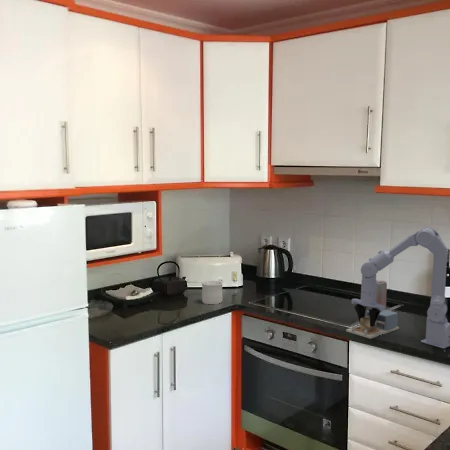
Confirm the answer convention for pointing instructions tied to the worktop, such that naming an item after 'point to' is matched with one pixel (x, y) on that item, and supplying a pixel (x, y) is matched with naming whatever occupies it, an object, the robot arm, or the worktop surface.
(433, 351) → the worktop surface
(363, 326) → the birch block
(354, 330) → the base plate
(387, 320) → the housing
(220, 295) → the cup
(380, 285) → the beverage can
